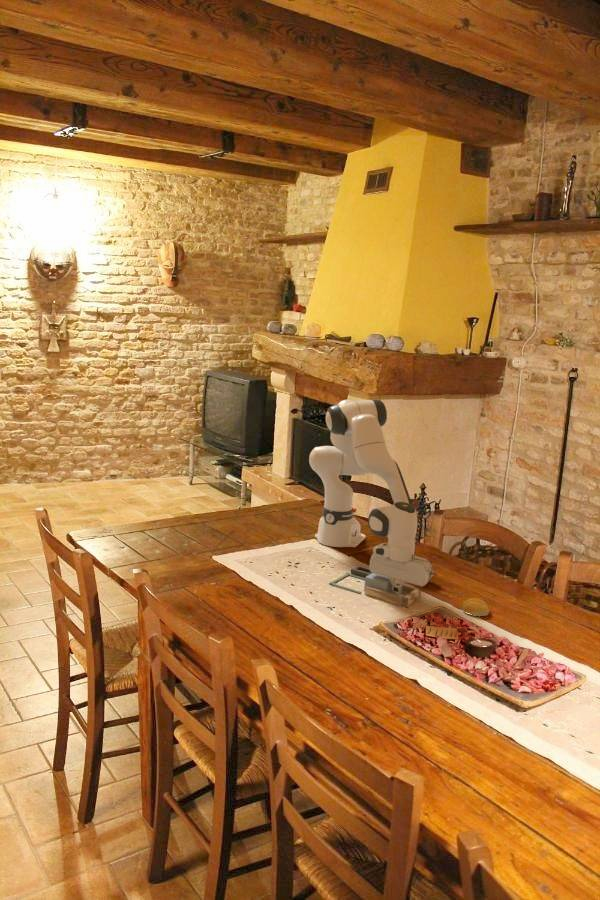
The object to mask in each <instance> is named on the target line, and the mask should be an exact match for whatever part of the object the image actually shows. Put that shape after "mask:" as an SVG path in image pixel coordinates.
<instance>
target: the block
mask: <svg viewBox="0 0 600 900" xmlns="http://www.w3.org/2000/svg"><path fill="white" fill-rule="evenodd" d="M367 586H368V587H371V588H375V589H378V590H382V591H385V592H388V593H392V594H394V591H392V585H391V582H390V578H389V577H385V576H382V575H378V574H375V573H371V574H370V575H368V576H366V577H365V580H364V587H363V588H364V589H363V591H364V592H365V587H367Z"/></svg>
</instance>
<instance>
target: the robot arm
mask: <svg viewBox="0 0 600 900" xmlns="http://www.w3.org/2000/svg"><path fill="white" fill-rule="evenodd" d="M387 420H388V412H387V407H386V405H385V402H383V401H382V400H381V399H376V398H371V399H368V400H367V399H363V400H362V399H361V400H353V399H343V400H341V401H339V402H338V403H337V404H334V405H331V406H329V407H328V408H327V410H326V413H325V423H326V427H327V429H328V430H329V432H330V437H329V438H330V441H331V444H332V445H333V446H332V445H321V446H315V447H314V448H313V449H312V450H311V452H310V453H309V459H308V461H309V462H308V463H309V465H310V468H311V469H312V470H313V471H314V473H316V474H317V475H318V476H319V478H320V479H321V481H322V484H323V486H324V487H323V489H324V505H323V507H322V516H321V517H320V518H319V523H318V528H317V529H318V530H317V533H315V534H314V537H315V538H316V540H317V542H318V543H320V544H321V545H324V546H326V547H327V546H328V547H333V548H334V547H335V548H356V547H357V546H359V545H360V544H361V543H362V542H363V541H364V540H365V539H366V538H367V537H366V535H365V534H363V533H361V527H362V526H361V524H360V522H359V521H358V520H357V519H356V518H355V517H354V513H357V507H354V506H353V499H354V498H353V497H354V491H353V488H352V487H351V486H350V485H349V484H347V483H346V482H344V481H342V480H341V479H340V477H339V476H340V475H343V476H354V477H355V476H357V477H358V476H365V475H370V474H373V475H376V476H378V477H380V478H381V479H383V480H384V482H385V483H386V484H387V487H388V490H389V493H390V495H391V499H392V501H393V504H392V505H388V506H381V507H380V506H379V507H376V508H373V509H371V511H370V512H369V514H368V517H367V525H368V528H369V531H370V532H372V533H373V534H374V535H375V536H379V537H386V538H387V542H384V543H383V542H382V543H380V544H377V545H375V546H374V547H373V550H372V553H373V554H372V555H371V557H370V560H369V567H368V568H369V569H370V571H371V573H375V574H378V575H382V576H385V577H389V578H390V582H391V585H392V591H393V592H396V593H399V594H400V593H402V592H401V591H402V587H403V586H404V585H406V583H407V584H411V585H415V586H418V587H424V586H426V585H428V584H429V581H428V570H429V562H430V561H428V559H427V558H425V557H421V556H418V555H415V547H416V541H415V536H416V534H417V527H418V522H419V514H418V512H417V510H416V507H415V506H414V504H413V501H412V499H411V497H410V494H409V491H408V489H407V486H406V485H407V484H406V483H405V480H404V477H403V475H402V474H403V473H402V471H401V469H400V467H399V465H398V463H397V462H396V461H395V460H394V459H393V458H392V456H391V454H390V452H389V450H388V448H387V445H386V441H385V436H384V433H383V430H382V427H383V426H385V425H386V422H387ZM396 580H397V581H399V582H398V583H400V586H398V585H396ZM427 583H428V584H427Z"/></svg>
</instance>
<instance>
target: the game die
mask: <svg viewBox="0 0 600 900" xmlns="http://www.w3.org/2000/svg"><path fill="white" fill-rule="evenodd" d="M433 561H434V560H432V561H428V562H429V570H428V583H427V584H426V585H429V581H430V580H431V579H432V577H433V576H434V575H435V576H436V575H437V573H436V572H435V571H434V567H433V565H432V564H433Z"/></svg>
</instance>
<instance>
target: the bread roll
mask: <svg viewBox="0 0 600 900" xmlns="http://www.w3.org/2000/svg"><path fill="white" fill-rule="evenodd" d="M462 604H463V605H462V611H463V612H464V613H465V612H467V613H470V614H472V615H475V616H479V617H478V618H481V617H480V616H484V617H487V616H489V614H490V609H489V606H488V604H487V603H486V602H485V600H483V599H481V598H476V597H473V598H468V599H466V600H465V601H463V603H462Z"/></svg>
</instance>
